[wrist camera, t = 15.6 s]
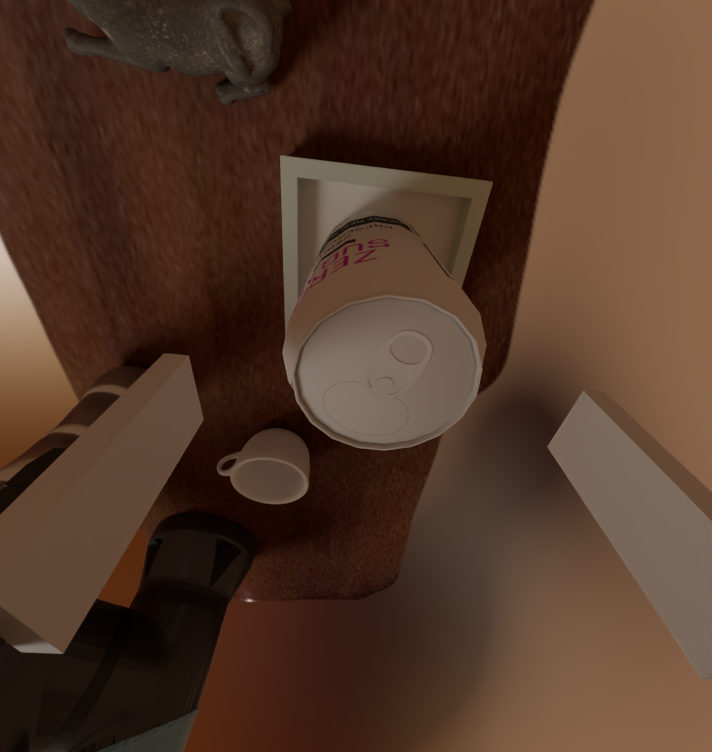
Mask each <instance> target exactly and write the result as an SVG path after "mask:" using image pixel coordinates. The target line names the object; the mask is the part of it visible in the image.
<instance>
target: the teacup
mask: <svg viewBox="0 0 712 752" xmlns="http://www.w3.org/2000/svg"><path fill="white" fill-rule="evenodd" d="M231 459H237V460H236V462H235V464H234V465H233V466H232V467H231V468H229V469H227V470H222V469H221V467H222V465H223V464H224V463H225V462H226V461H228V460H231ZM217 471H218V473H219V474H220V475H222V476H230V479H231V483H232V485H233V486H234V488H235V489H236V490H237V491H238V492H239V493H240V494H242V495H243V496H245V497H247V498H249V499H251V500H254V501H257V502H261V503H266V504H285V503H290V502H293V501H295V500H298V499H299V498H301V497H302V496H303V495H304V494H305V493H306V492H307V490H308V485H309V472H310V458H309V451H308V448H307V446H306V444H305V443H304V441H303V440H302V439H301V438H300V437H299V436H298V435H296V434H295V433H293V432H291V431H289V430H285V429H280V428H271V429H266V430H263V431H261V432H259V433H257V434H255V435H254V436H253V437H252V438H251V439H250V440H249V441H248V442H247V443H246V444H245V446H244V447H243V449H242V451H239V452H236V453H233V454H230V455H227V456H225V457H223V458H222V459H221V460H220V461H219V462H218V464H217Z"/></svg>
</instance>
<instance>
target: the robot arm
mask: <svg viewBox="0 0 712 752" xmlns="http://www.w3.org/2000/svg"><path fill="white" fill-rule="evenodd" d="M203 420H204V419H203V415H202V410H201V406H200V402H199V397H198V393H197V389H196V385H195V380H194V376H193V372H192V367H191V363H190V359H189V355H178V354H166V353H164V354H163V355H162V356H161V357H160V358H159V359H158V360H157V361H156V362H155V363H154V364H153V365H152V366H151V367H150V368H149V369H148V370H147V371H146V372H145V373H144V374H143V375H142V376H141V377H140V378H138V379H137V380H136V381H135V382H134V383H133V384H132V385H131V386H130V387H129V388H128V389H127V390H126V391H125V392H124V393H123V394H122V395H121V396H120V397H119V398H118V399H117V400H116V401H115V402H114V403H113V404H112V405H111V406H110V407H109V408H108V409H107V410H106V411H105V412H104V413H103V414H102V415H101V416H100V417H99V418H98V419H97V420H96V421H95V422H94V423H93V424H92V425H91V426H90V427H89V428H88V429H87V430H86V431H85V432H84V433H83V434H82V435H81V436H80V437H79V438H78V439H77V440H76V441H75V442H74V443H73V444H71V445H70V446H69V447H68V448H67V449H64V448H53V449H51V450H50V451H48V452H46V453H45V454H43V455H41V456H40V457H38V458H36V459H34V460H33V461H31V462H29V463H28V464H26V465H25V466H24V467H23V468H22V469H21V470H20V471H18V472H17V473H16V474H15V475H14V476H13V477H12V478H11V479H10V480H9V481H7V482H6V483H5V484H4V487H3V489H0V752H183V751H184V748H185V745H186V742H187V739H188V737H189V734H190V731H191V728H192V725H193V722H194V719H195V717H196V715H197V713H198V711H199V707H198V706H199V703H200V699H201V696H202V693H203V689H204V686H205V682H206V679H207V675H208V672H209V668H210V665H211V661H212V658H213V655H214V651H215V647H216V644H217V640H218V637H219V634H220V630H221V627H222V623H223V620H224V617H225V613H226V610H227V607H228V605H229V603H230V601H231V599H232V598H233V596H234V594H235V593H236V591H237V589H238V588H239V586H240V584H241V583H242V581H243V579H244V578H245V576H246V574H247V573H248V571H249V569H250V568H251V565H252V563H253V559H254V556H255V552H256V543H255V540H254V539H253V537H252V536H251V535H250V534H249V533H248V532H247V531H246V530H244V529H243V528H241V527H240V526H238V525H236V524H234V523H232V522H229V521H227V520H224V519H220V518H217V517H212V516H207V515H198V514H185V515H177V516H173V517H170V518H167V519H165V520H163V521H162V522H160V523H159V524H158V526H157V527H156V529H155V531H154V533H153V535H152V536H151V538H150V540H149V543H148V547H147V552H146V556H145V561H144V566H143V571H142V576H141V580H140V585H139V589H138V591H137V593H136V595H135V597H134V599H133V601H132V603H131V605H130V607H129V608H126V607H123V606H120V605H116V604H113V603H110V602H107V601H103V600H100V599H97V597H98V595H99V593H100V592H101V590H102V588H103V587H104V585H105V583H106V582H107V580H108V578H109V577H110V575H111V573H112V572H113V570H114V568H115V567H116V565H117V563H118V562H119V560H120V558H121V557H122V555H123V553H124V552H125V550H126V548H127V547H128V545H129V543H130V542H131V540H132V538H133V537H134V535H135V533H136V531H137V530H138V528H139V527H140V525H141V523H142V522H143V520H144V518H145V517H146V515H147V513H148V512H149V510H150V508H151V507H152V505H153V503H154V502H155V500H156V498H157V497H158V495H159V493H160V492H161V490H162V488H163V487H164V485H165V483H166V482H167V480H168V478H169V477H170V475H171V473H172V472H173V470H174V468H175V467H176V465H177V463H178V462H179V460H180V458H181V457H182V455H183V453H184V452H185V450H186V448H187V447H188V445H189V443H190V442H191V440H192V438H193V437H194V435H195V433H196V432H197V430H198V428H199V427H200V425H201V423H202V422H203ZM547 447H548V449H549V450H550V452H551V453H552V455H553V456H554V458H555V459H556V461H557V462H558V464H559V465H560V467H561V468H562V470H563V471H564V473H565V474H566V476H567V477H568V479H569V480H570V482H571V483H572V485H573V486H574V488H575V489H576V491H577V492H578V494H579V495H580V497H581V498H582V500H583V501H584V503H585V504H586V506H587V507H588V509H589V510H590V512H591V513H592V515H593V517H594V518H595V520H596V521H597V523H598V524H599V525H600V527H601V529H602V530H603V532H604V533H605V535H606V536H607V538H608V539H609V541H610V542H611V544H612V545H613V547H614V548H615V550H616V551H617V553H618V554H619V556H620V557H621V559H622V560H623V562H624V563H625V565H626V566H627V568H628V569H629V570H630V572H631V574H632V575H633V577H634V578H635V580H636V581H637V583H638V584H639V586H640V587H641V589H642V590H643V592H644V593H645V595H646V596H647V598H648V599H649V601H650V602H651V604H652V605H653V607H654V608H655V610H656V612H657V613H658V615H659V616H660V618H661V619H662V620H663V622H664V624H665V625H666V627H667V628H668V629H669V631H670V633H671V634H672V635H673V637H674V639H675V640H676V642H677V643H678V645H679V646H680V648H681V649H682V651H683V652H684V654H685V655H686V657H687V658H688V660H689V661H690V663H691V664H692V666H693V667H694V669H695V670H696V672H697V673H698V675H699V676H700V678H701V679H712V492H711V491H710V490H708V489H707V488H706V487H705V486H704V485H703V484H702V483H701V482H700V481H699V480H698V479H697V478H696V477H695V476H693V475H692V474H691V473H690V472H689V471H688V470H687V469H686V468H685V467H684V466H683V465H682V464H681V463H680V462H678V461H677V460H676V459H675V458H674V457H673V456H672V455H671V454H670V453H669V452H668V451H667V450H666V449H664V447H662V446H661V445H660V444H659V443H658V442H657V441H656V440H655V439H654V438H653V437H652V436H651V435H650V434H648V432H646V431H645V430H644V429H643V428H642V427H641V426H640V425H639V424H638V423H637V422H636V421H635V420H634V419H633V418H631V417H630V416H629V415H628V414H627V413H626V412H625V411H624V410H623V409H622V408H621V407H620V406H619V405H618V404H616V403H615V402H614V401H613V400H612V399H611V398H610V397H609V396H608V395H607V394H606V393H604V392H593V391H583V392H582V393H581V395H580V397H579V398H578V400H577V401H576V403H575V404H574V406H573V407H572V409H571V411H570V412H569V414H568V415H567V417H566V419H565V420H564V422H563V423H562V425H561V426H560V428H559V429H558V431H557V432H556V434H555V436H554V437H553V439H552V440H551V442H550V443H549V445H548V446H547Z"/></svg>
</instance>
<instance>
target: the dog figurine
mask: <svg viewBox="0 0 712 752" xmlns="http://www.w3.org/2000/svg"><path fill="white" fill-rule="evenodd" d="M67 1H69V2H70V3H71V4H72V5H73V6H74V8H75V9H76V10H77V11H79V12H80V13H81V14H82V15H83V16H85V17H86V18H87V19H88V20H90V21H91V22H93V23H95V24H96V25H97V26H98V27H99V28H100V29H101V30H102V31H103V32H104V34H105V35H106V36H107V37H104V38H99V37H92V36H89V35H87V34H85V33H80V32H78V31H77V30H75V29H73V28H65V29H63V36H64V37H65V39H66V41H67V47H68V49H69V50H71V51H72V52H74V53H76V54H78V55H81V56H87V55H88V56H91V57H98V56H103V57H105V58H109V59H112V60H115V61H119V62H123V63H126V64H130V65H133V66H135V67H137V68H141V69H146V70H150V71H153V72H166V71H168V70H169V69H170V67H171V68H174V69H176V70H178V71H180V72H182V73H185V74H189V75H194V76H207V75H212V74H217V73H225V74H226V75H227V77H228V79H229V80H230V82H219V83H217V84H216V85H215V89H216V92H217V95H218V98H219V100H220V101H221V102H222V103H223V104H225V105H230V104H232V103H233V102H234V100H245V99H248V98H250V97H255V96H260V95H265V94H268V93H269V92H270V90H271V87H270V84H269V82H268V80H267V79H268V76H269V75H270V74H271V73H272V71H273V70H275V69H276V67H277V65H278V62H279V59H280V53H281V45H282V42H283V24H282V21H283V20H284V19H285V18H287V17H288V16H289V15H290V14H291V13H292V5H291V3H290V1H289V0H67Z"/></svg>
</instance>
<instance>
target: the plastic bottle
mask: <svg viewBox="0 0 712 752" xmlns="http://www.w3.org/2000/svg"><path fill="white" fill-rule="evenodd" d="M147 370H148V369H146V368H143V367H138V366H121V367H116V368H114V369H112V370H110V371H108V372H106V373H104V374H103V375H101V376H100V377H98V378H97V379H96V380H95V381H94V383H93V384H92V385H91V386H90V387H89V388H88V390H87V392H86V393H85V395H84V396H83V398H82V399H81V400H80V402H79V403H78V404H77V405H76V406H75V407H74V408H73V409H72V410H71V412H69V413H68V415H66V417H65V418H64V419H63V420H62V421H61V422H60V423H59V424H58V425H57V426H56V427H55V428H54V429H52V430H51V431H50V432H49V433H47V434H46V435H45V437H43V438H41V439H40V440H39V441H37V442H36V443H35V444H34V445H33V446H31V447H30V448H29V449H28V450H26V451H25V452H24V453H23V454H21V455H20V456H18V457H17V458H16V459H14V460H13V461H11V462H10V463H8V464H7V465H5V466H4V467H2V468H1V469H0V489H3V487H4V484H5V483H6V482H7V481H9V480H10V479H11V478H12V477H13V476H14V475H15V474H16V473H17V472H18V471H20V470H21V469H22V468H23V467H24V466H25V465H26V464H28V463H29V462H31V461H33V460H34V459H36V458H38V457H40V456H41V455H43V454H45V453H46V452H48V451H50V450H51V449H53V448H64V449H67V448H68V447H69V446H70V445H71V444H73V443H74V442H75V441H76V440H77V439H78V438H79V437H80V436H81V435H82V434H83V433H84V432H85V431H86V430H87V429H88V428H89V427H90V426H91V425H92V424H93V423H94V422H95V421H96V420H97V419H98V418H99V417H100V416H101V415H102V414H103V413H104V412H105V411H106V410H107V409H108V408H109V407H110V406H111V405H112V404H113V403H114V402H115V401H116V400H117V399H118V398H119V397H120V396H121V395H122V394H123V393H124V392H125V391H126V390H127V389H128V388H129V387H130V386H131V385H132V384H133V383H134V382H135V381H136V380H137V379H138V378H140V377H141V376H142V375H143V374H144V373H145V372H146V371H147Z"/></svg>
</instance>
